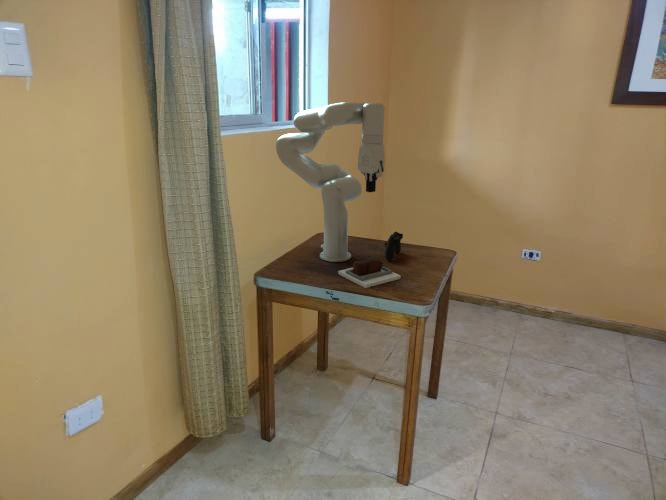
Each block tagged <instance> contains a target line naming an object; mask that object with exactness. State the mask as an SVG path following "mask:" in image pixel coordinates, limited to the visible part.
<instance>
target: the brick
mask: <svg viewBox="0 0 666 500" xmlns="http://www.w3.org/2000/svg"><path fill="white" fill-rule="evenodd" d="M382 266H383V262H382V260H381V259H379V258H376V257H371V258H366V259H362V260H361V259H360V260H356V261H353V264H352V268H353V273H354V274H356V275H358V276H363V275H368V274H372V273H375V272H379V271H381V269H382Z"/></svg>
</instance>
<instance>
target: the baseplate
mask: <svg viewBox="0 0 666 500" xmlns="http://www.w3.org/2000/svg"><path fill="white" fill-rule="evenodd" d="M337 272H338V273H337V274H338V275H339V276H342V277H343V278H345V279H347V280H349V281H351V282H353V283H355V284H357V285H359V287H360V286H361V287H362V288H365V289H368V288H372V287H374V286H379V285H382V284H386V283H388V282H389V283H390V282H393V281H397V280H400V279H401V275H400V274H398V273H396V272H394V271H393V270H392V269H390V268H388V267H385V266H383V265H382V269H381V271H379V272H375V273H372V274H368V275H363V276H358V275H356V274H354V273H353V267H349V268H345V269H341V270H338V271H337ZM371 286H372V287H371Z"/></svg>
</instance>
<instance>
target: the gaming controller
mask: <svg viewBox="0 0 666 500" xmlns="http://www.w3.org/2000/svg"><path fill="white" fill-rule="evenodd" d="M403 236H404V234H403V233H400V232H398V231H394V232H393V233H392V234H390V235H389V237H388V239H387V242H385V243H384V246H385V253H384V255H385V256H384V257H385V259H386V261H387V262H392V261H393V260H394V257H395V253H396V254H398V253H400V252H401V248H402V243H401V240H402V239H403V238H404V237H403Z"/></svg>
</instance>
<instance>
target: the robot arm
mask: <svg viewBox="0 0 666 500" xmlns="http://www.w3.org/2000/svg"><path fill="white" fill-rule="evenodd" d="M361 124H362V125H361ZM293 125H294V128H295V129H296V130H297V131H298V132H293V133H291V132H290V133H286V134H283V135H280V137H278V138H277V140H276V142H275V151H276V155H277V157H278V159H279V161H280V162H281V163H282V164H283V166H285V167H286V168H287V169H289V170H290V171H292V172H293V173H295V175H297V177H300V178H301V179H302V180H303V181H305V182H306V183H307V184H308V185H309V186H310V187H312V188H313V189H316V190H317V189H318V190H321V191H320V192H321V194H320V195H321V198H322V199H321V200H322V207H323V243H322V244H320V248H322V252H320V253H319V258H320V259H321V260H323V261H326V262H331V263H339V262H340V263H342V262H347V261H348V260H350V259H351V258H352V254H351V253H350V252H349V251H348V243H349V242H348V241H349V240H348V239H349V234H348V232H349V229H348V228H349V215H348V214H349V211H348V209H347V207H346V204H345V203H346V202H347V203H348V202H351V201H355V200H357V199H359V198H360V197H361V195H362V192H363V187H362V184H361V183H360V181H359V179H358V178H357V177H356V176H354V175H353V174H352V173H351V172H349V171H347V170H346V169H345V168H343V167H342V166H341V165H340V164H339V165H338V164H337V163H331V162H330V163H319V162H318V163H317V162H316V161H315V160H313V159H312V158H311V157H309V156H308V155H305V154H308V153H311V152H313V151H314V150H315V149H316V147H317V145H318V143H319V142H320V140H321V139H322V137H323V135H324V134H325V132H326V131H328V130H331V129H332V128H333V127H337V126H343V125H344V126H347V125H361V126H362V127H361V143H360V145H359V150H358V157H357V170H358V171H359V172H360V173H361V174H362V175H363V176H364V180H365V192H366V193H374V192H376V185H377V184H376V183H377V182H376V181H378V178H382V177H383V173H384V171H385V160H386V159H385V146H384V132H385V131H384V130H385V105H384V104H383V103H382V102H381V103H379V102H361V101H343V102H337V103H331V104H327V105H325V106H321V107H316V108H311V109H306V110H305V109H304V110H302V111H299V112H297V114H295V116H294V118H293Z"/></svg>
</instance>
